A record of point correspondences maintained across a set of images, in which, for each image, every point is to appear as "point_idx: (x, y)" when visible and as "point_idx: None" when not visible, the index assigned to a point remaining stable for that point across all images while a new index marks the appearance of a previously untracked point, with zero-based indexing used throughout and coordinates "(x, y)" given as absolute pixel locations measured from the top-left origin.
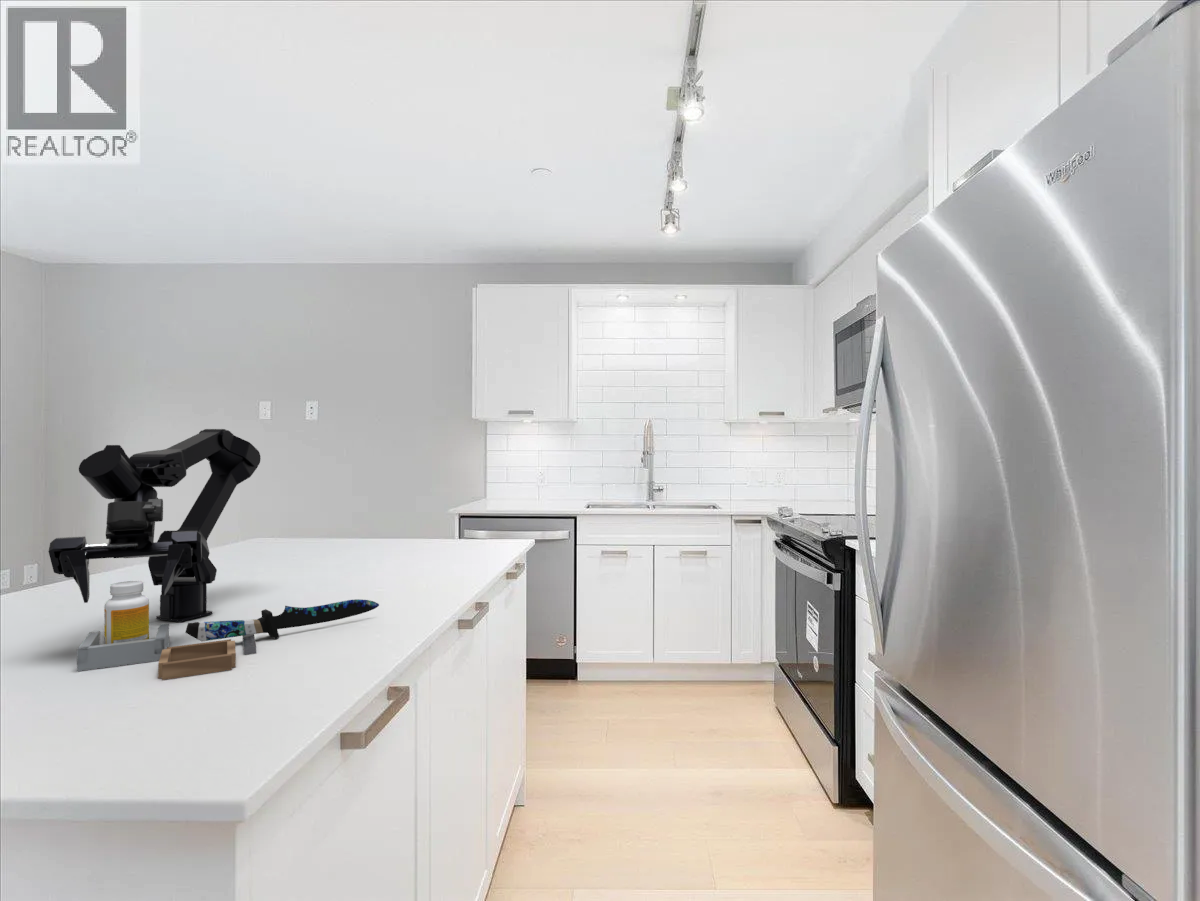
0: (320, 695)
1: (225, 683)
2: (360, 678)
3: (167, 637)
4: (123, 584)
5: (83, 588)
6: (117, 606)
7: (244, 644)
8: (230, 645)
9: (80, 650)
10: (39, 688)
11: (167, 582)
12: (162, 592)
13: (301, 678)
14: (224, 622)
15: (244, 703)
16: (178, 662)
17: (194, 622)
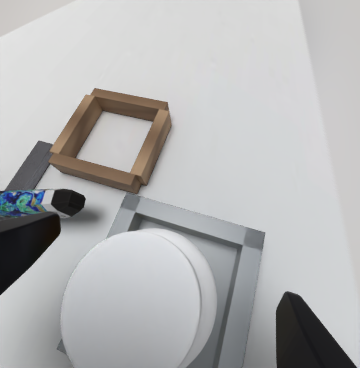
0: (95, 9)
1: (128, 69)
2: (51, 21)
3: None
4: (149, 280)
5: (323, 335)
6: (188, 240)
7: (40, 161)
8: (69, 129)
9: (258, 231)
10: (300, 186)
11: (9, 219)
12: (56, 215)
13: (78, 44)
14: (15, 191)
15: (141, 23)
16: (149, 99)
17: (57, 201)
